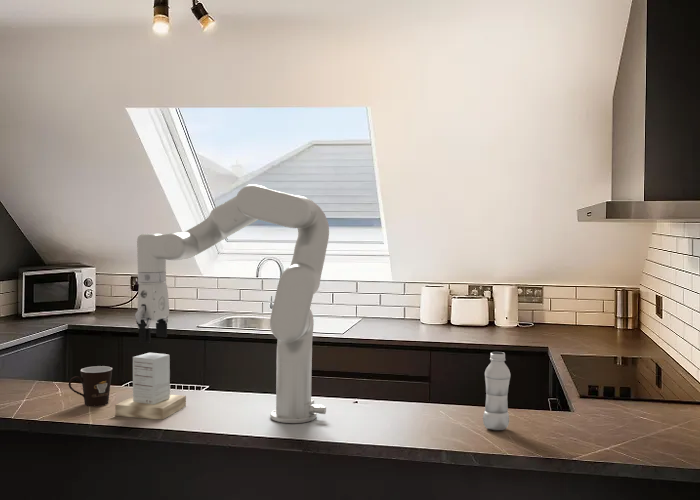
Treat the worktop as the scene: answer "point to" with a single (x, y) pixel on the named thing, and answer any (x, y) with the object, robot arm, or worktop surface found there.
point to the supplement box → (151, 378)
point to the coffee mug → (94, 385)
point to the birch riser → (150, 408)
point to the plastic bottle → (496, 393)
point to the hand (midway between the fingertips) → (153, 339)
